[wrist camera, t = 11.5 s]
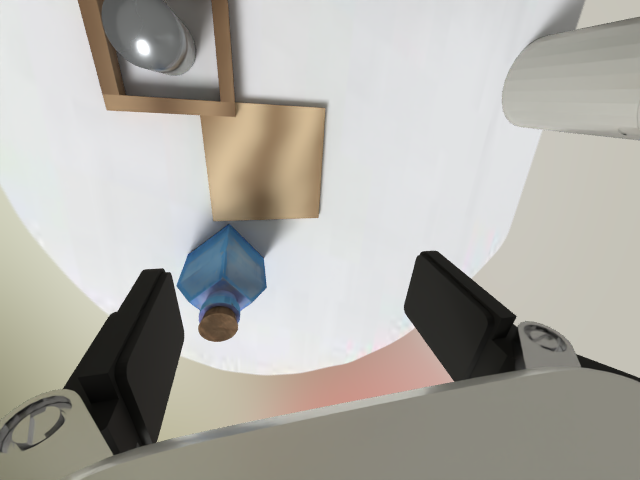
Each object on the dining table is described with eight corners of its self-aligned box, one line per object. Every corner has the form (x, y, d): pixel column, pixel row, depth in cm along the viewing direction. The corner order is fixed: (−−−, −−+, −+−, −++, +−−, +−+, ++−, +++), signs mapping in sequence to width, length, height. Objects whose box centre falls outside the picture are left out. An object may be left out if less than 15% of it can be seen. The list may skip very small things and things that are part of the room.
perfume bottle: (188, 254, 32) (160, 329, 22) (229, 223, 32) (220, 285, 21) (225, 285, 35) (216, 364, 25) (263, 258, 35) (270, 326, 24)
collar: (226, -26, 22) (224, -33, 21) (236, 116, 27) (235, 117, 25) (73, -51, 20) (61, -62, 18) (114, 109, 24) (106, 110, 23)
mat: (323, 108, 28) (325, 108, 28) (317, 215, 34) (318, 217, 33) (199, 99, 25) (198, 100, 25) (214, 219, 31) (213, 221, 30)
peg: (191, 16, 23) (173, -10, 17) (199, 77, 25) (185, 72, 19) (131, 8, 22) (91, -22, 16) (144, 73, 24) (112, 66, 18)
